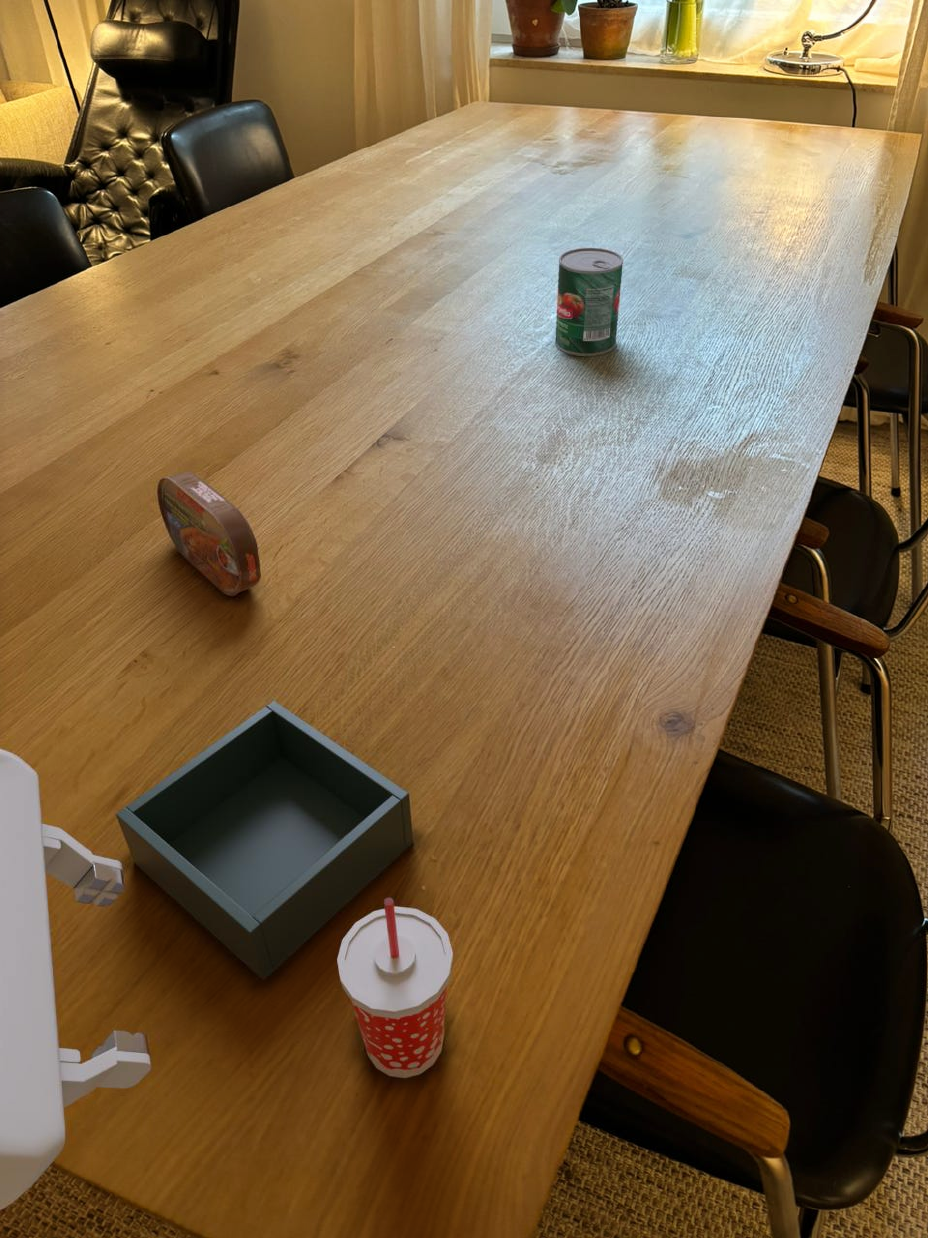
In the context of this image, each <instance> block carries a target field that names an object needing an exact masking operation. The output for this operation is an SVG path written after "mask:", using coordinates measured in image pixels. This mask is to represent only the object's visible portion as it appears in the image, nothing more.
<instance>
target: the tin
mask: <svg viewBox="0 0 928 1238" xmlns="http://www.w3.org/2000/svg"><path fill="white" fill-rule="evenodd" d="M156 494H157V504H158V507H159V511H160V514H161V518H162V521H163V523H164V526H165V528H166V530H167V533H168V536H169V537H170V539H171V541H172V543H173V544H174V546H175V548H176V549H177V550H178V553H180V554H181V555H182V557H183V558H184V559H186V560H187V561H188V562H189V563H190V564H191V565H192V566H193V567H194V568H195V569H196V570H197V571H199V572H200V573H201V574H202V575H203V576H204V578H206V579H207V580H208V581H209V582H211V584H213V585H214V586H215V588H217V589H218V590H219V591H220V592H221V593H223V594H224V595H226V596H229V597H234V596H236V595H237V594H239V593H241V592H243V591H246V590H248V589H251V588H253V587H255V586H256V585H257V584H258V583H259V582H260V580H261V577H262V573H261V561H260V554H259V546H258V543H257V542H258V541H257V539H256V537H255V534H254V531H253V530H252V528H251V525H250V523H249V522H248V520H247V519H246V517H245V516H244V514H243V513H242V511H240V510H239V509H238V507H237V506H235V505H234V504H233V503H232V502H231V501H229V500H228V499H227V498H225V496H223V495H222V494H221V493H219V491H217V490H216V489H214V488H213V487H212V486H211V485H209V484H208V483H207V482H206V481H205V480H203V479H202V478H200V476H198V475H197V474H195V473H193V472H190V471H185V472H180V473H177V474H173V475H171V476H166V477H165V476H164V477H162V478H160V480H159V481H158V483H157V491H156Z"/></svg>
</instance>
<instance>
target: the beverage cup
mask: <svg viewBox="0 0 928 1238" xmlns="http://www.w3.org/2000/svg"><path fill="white" fill-rule="evenodd" d="M383 904H384V906H383V907H384V908H382V909H381V908H380V909H377V910H374V911H372V912H370V913H368V914H367V915H365V916H364V917H362V918H361V919H358V920H357V921H356V922H355V923H354V924H353V925H352V927H351V928H350V929H349V931H348V932H346V934H345V936H344V937H343V939H342V940H341V944H340V947H339V951H338V955H337V958H336V960H337V967H338V968H337V969H338V973H339V974H338V975H339V979H340V984H341V987H342V990H343V991H344V992H345V993H346V995H347V997H348V998H349V999H350V1001H351V1004H352V1008H353V1012H354V1014H355V1017H356V1021H357V1024H358V1027H359V1030H360V1033H361V1038H362V1040H363V1044H364V1047H365V1050H366V1053H367V1056H368V1058H369V1060H370V1061H371V1063H372V1065H374V1067H375V1068H376V1069H377V1070H379V1071H380V1072H382V1073H384V1074H386V1075H387V1076H389V1077H395V1078H401V1079H407V1078H411V1077H414V1076H419V1075H421V1074H422V1073H424V1072H426V1071H427V1070H428V1069H429V1068H431V1067H432V1066H434V1065H435V1062H436V1061H437V1059H438V1058H439V1056H440V1055H441V1053H442V1049H443V1043H444V1039H445V1023H446V1009H447V1008H446V1006H447V991H448V990H447V989H448V984H449V983H450V980H451V974H452V969H453V962H454V960H453V959H454V952H453V948H452V945H451V941H450V937H449V934H448V932H447V931H446V930H445V929H444V928H443V926H442V925H441V924H440V923H439V921H438V920H437V919H436V918H435V917H433V916H432V915H429V914H427V913H426V912H424V911H422V910H419V909H418V908H413V907H405V906H396V905H395V902H394V899H393V898H391V897H385V899H384V900H383Z"/></svg>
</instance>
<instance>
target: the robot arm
mask: <svg viewBox="0 0 928 1238" xmlns="http://www.w3.org/2000/svg"><path fill="white" fill-rule="evenodd" d="M40 796H41V795H40V781H39V775H38V773H37V771H36V770H35V769H34V768H32V767H31V766H30V765H29V764H28V763H27V762H25V761H24V760H23V759H22V758H21V757H20V756H18V755H17V754H15V753H12V752H11V751H8V750H5V749H3V748H0V1211H1V1210H3V1209H5V1208H7V1207H8V1206H10V1205H11V1204H13V1203H14V1202H16V1200H18V1199H19V1198H20V1197H22V1196H23V1195H24V1194H25V1192H27V1191H28V1190H29V1188H31V1187H32V1186H33V1185H35V1183H36V1182H37V1181H38V1180H39V1179H40V1178H41V1177H42V1176H43V1174H44V1173H45V1172H46V1171H47V1170H48V1168H50V1166H51V1165H52V1164H53V1163H54V1161H55V1160H56V1159H57V1158H58V1156H59V1155H60V1154H61V1152H62V1150H63V1149H64V1147H65V1145H66V1122H65V1109H64V1108H67V1107H68V1106H70V1105H71V1104H73V1103H74V1102H76V1101H78V1100H79V1099H81V1098H83V1097H84V1096H86V1095H88V1094H90V1093H92V1092H93V1091H95V1090H96V1088H105V1089H106V1088H107V1089H108V1088H109V1089H129V1088H132V1087H134V1086H136V1085H138V1084H139V1083H140V1082H141V1081H142V1080H143V1079H144V1077H146V1076H147V1074H148V1073H149V1072H150V1071H151V1069H152V1063H151V1055H150V1049H149V1041H148V1036H147V1034H145V1033H144V1032H135V1033H134V1034H132V1033H131V1032H129V1031H128V1030H127V1031H126V1030H117V1029H113V1030H112V1031H111V1032H110V1034H109V1035H108V1036H107V1037H106V1038H105V1040H104V1042H103V1044H102V1045H98V1047H97V1048H96V1049H95V1050H94V1051H93V1052H92V1053H91V1054H90V1059H89V1060H86V1061H85V1062H82V1063H80V1062H81V1061H82V1060H81V1058H82V1057H81V1052H80V1051H79V1050H78V1049H74V1048H73V1049H72V1048H65V1047H64V1048H63V1047H60V1043H59V1031H58V1019H57V1006H56V1005H57V1004H56V992H55V979H54V967H53V966H54V965H53V953H52V939H51V926H50V925H51V924H50V913H49V900H48V899H49V898H48V890H47V889H48V887H47V875H48V876H51V877H52V878H54V879H56V880H58V881H59V882H61V883H63V884H64V885H66V886H68V887H70V888H71V889H73V892H74V900H75V902H76V903H80V904H86V905H89V904H91V903H92V904H94V905H95V906H97V907H109V906H111V905H112V904H114V903H115V902H116V901H117V898H118V896H119V895H122V893H123V892H124V891H125V880H124V873H123V871H124V870H123V865H122V862H120V860H117V859H113V858H108V857H104V856H100V855H96V854H93V852H92V851H90V849H88V848H87V847H85V846H84V845H83V844H82V843H81V842H79V841H77V840H76V839H75V838H74V837H72V836H71V835H70V834H68V833H67V832H66V831H65V830H63V829H62V828H61V827H57V826H54V825H49V824H46V823H42V820H43V819H42V809H41V797H40Z"/></svg>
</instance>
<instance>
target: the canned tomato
mask: <svg viewBox="0 0 928 1238" xmlns="http://www.w3.org/2000/svg"><path fill="white" fill-rule="evenodd" d="M623 265H624V258H623V256H622V255H621V254H620V253H618V252H616V251H613V250H611V249H607V248H600V247H579V248H574V249H570V250H567V251H565V252H563V253H562V254H561V255H560V256H559V257H558V276H557V277H558V278H557V298H556V301H557V302H556V316H555V319H556V320H555V322H556V323H555V338H554V344H555V346H556V348H557V349H558V350H559V351H561V352H563V353H565V354H567V355H572V356H576V357H597V356H602V355H606V354H609V353H610V352H611V351H613V350H614V349H615V348H616V345H617V332H618V322H619V321H618V320H619V309H620V302H621V301H620V299H621V298H620V297H621V289H622V286H621V285H622V276H623Z"/></svg>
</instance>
